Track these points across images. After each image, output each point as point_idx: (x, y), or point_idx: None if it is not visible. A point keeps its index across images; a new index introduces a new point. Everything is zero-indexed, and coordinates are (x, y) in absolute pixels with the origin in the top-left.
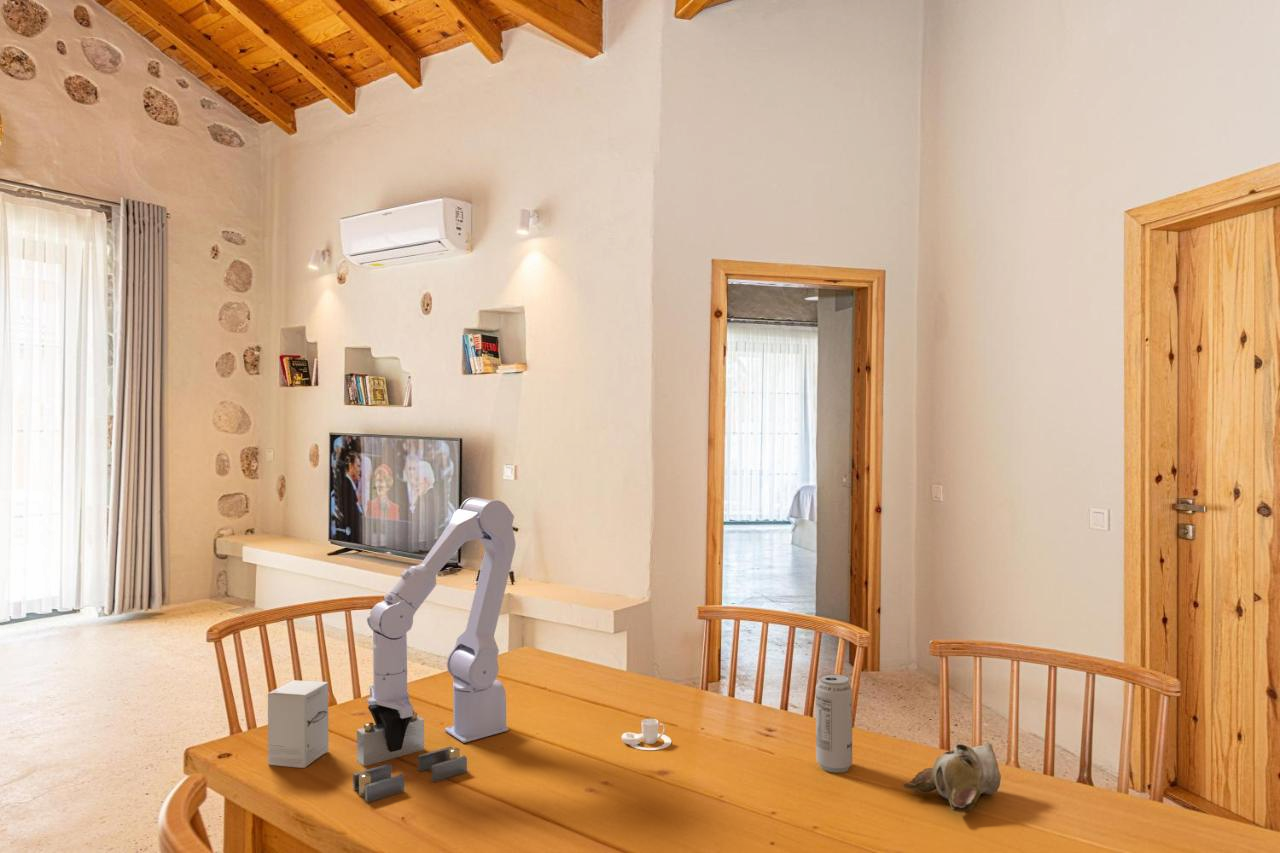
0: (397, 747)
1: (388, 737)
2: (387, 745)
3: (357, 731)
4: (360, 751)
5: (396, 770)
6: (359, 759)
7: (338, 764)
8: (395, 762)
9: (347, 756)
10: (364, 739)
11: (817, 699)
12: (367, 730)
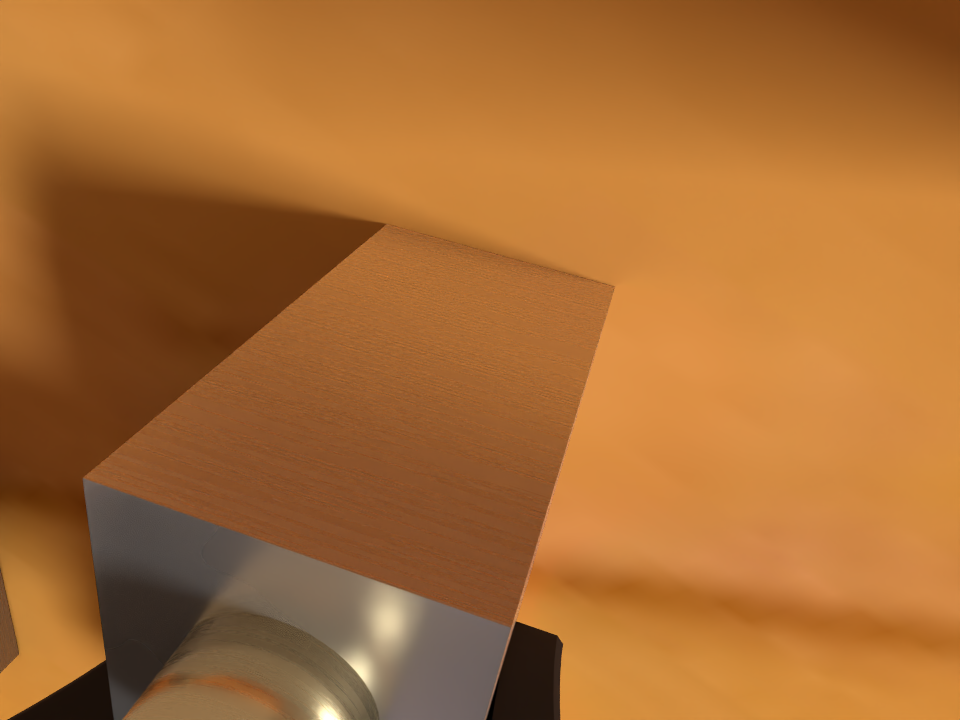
0: None
1: None
2: None
3: (480, 580)
4: (445, 326)
5: (68, 353)
6: (524, 281)
7: (751, 31)
8: None
9: (882, 301)
10: (162, 428)
11: None
12: (181, 645)
